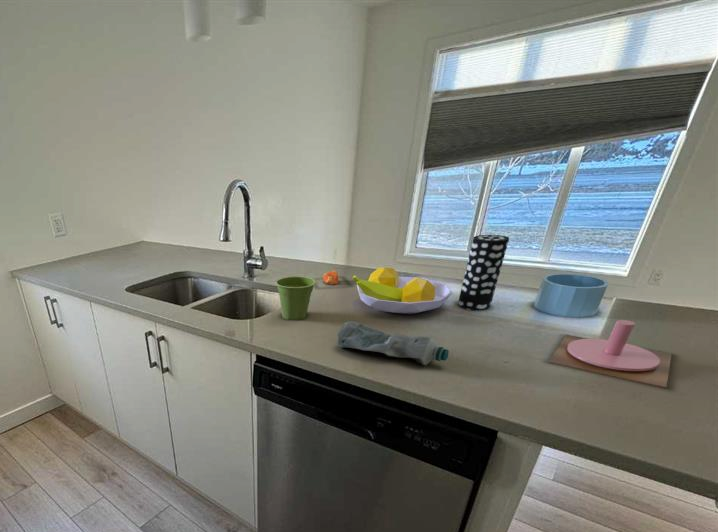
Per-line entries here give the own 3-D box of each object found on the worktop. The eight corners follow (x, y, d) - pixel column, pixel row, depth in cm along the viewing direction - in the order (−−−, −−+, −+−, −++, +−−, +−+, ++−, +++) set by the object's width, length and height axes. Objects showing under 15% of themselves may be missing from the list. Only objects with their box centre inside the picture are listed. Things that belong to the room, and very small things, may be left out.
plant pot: (298, 327, 119) (299, 289, 113) (267, 318, 127) (267, 283, 121) (321, 315, 125) (324, 279, 119) (291, 307, 133) (291, 273, 127)
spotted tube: (484, 314, 116) (503, 242, 106) (452, 308, 121) (468, 239, 111) (493, 305, 120) (513, 236, 110) (463, 300, 126) (479, 233, 116)
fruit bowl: (434, 293, 134) (441, 258, 128) (457, 323, 112) (466, 283, 106) (346, 293, 141) (349, 260, 135) (350, 322, 119) (354, 284, 113)
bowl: (539, 299, 122) (549, 271, 118) (599, 307, 113) (612, 277, 109) (528, 312, 114) (538, 283, 110) (591, 322, 105) (604, 291, 101)
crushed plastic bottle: (328, 352, 103) (431, 380, 86) (330, 325, 99) (438, 349, 83) (353, 339, 111) (453, 362, 94) (356, 313, 107) (460, 333, 91)
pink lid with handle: (572, 338, 97) (585, 305, 93) (660, 354, 87) (679, 318, 83) (559, 360, 89) (573, 325, 84) (654, 381, 79) (675, 343, 75)
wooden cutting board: (565, 337, 99) (566, 334, 99) (670, 357, 88) (671, 353, 87) (548, 364, 89) (549, 361, 89) (664, 390, 77) (666, 387, 77)
